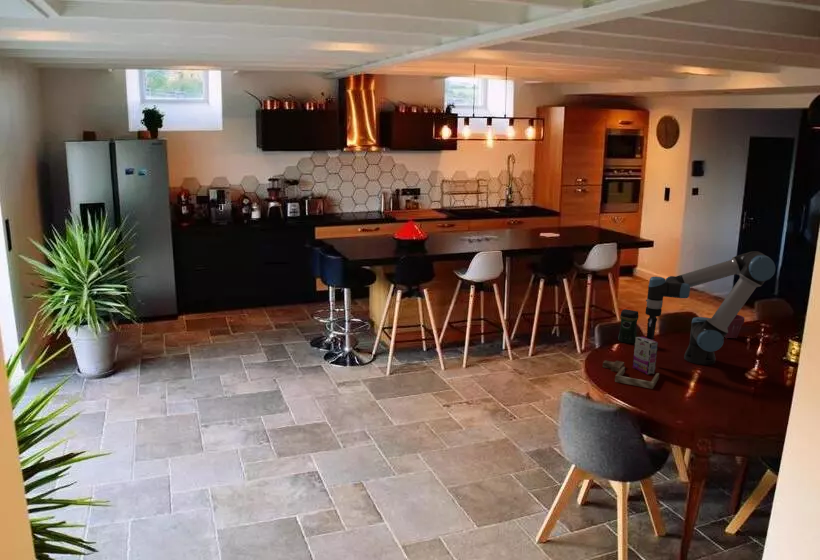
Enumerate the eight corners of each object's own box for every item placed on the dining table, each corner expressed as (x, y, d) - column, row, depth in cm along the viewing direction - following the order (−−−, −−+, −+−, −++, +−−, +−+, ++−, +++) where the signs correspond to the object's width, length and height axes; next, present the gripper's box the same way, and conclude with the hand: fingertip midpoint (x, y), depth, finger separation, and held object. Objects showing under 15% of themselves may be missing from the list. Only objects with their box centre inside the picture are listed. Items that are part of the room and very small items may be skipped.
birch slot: (658, 379, 333) (659, 373, 332) (652, 388, 320) (653, 382, 319) (622, 372, 341) (622, 366, 341) (614, 381, 328) (615, 375, 328)
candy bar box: (655, 374, 340) (658, 342, 336) (647, 375, 338) (650, 343, 334) (639, 366, 350) (642, 335, 346) (631, 367, 348) (634, 336, 344)
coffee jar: (638, 341, 391) (641, 310, 387) (633, 345, 385) (636, 313, 381) (621, 338, 397) (624, 307, 393) (616, 341, 391) (619, 310, 387)
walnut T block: (623, 366, 350) (624, 362, 349) (619, 372, 341) (619, 367, 341) (605, 363, 354) (606, 358, 353) (600, 368, 345) (601, 364, 345)
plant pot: (738, 334, 409) (741, 313, 406) (744, 341, 396) (747, 320, 393) (713, 332, 412) (715, 311, 409) (717, 339, 399) (720, 318, 396)
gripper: (648, 303, 355) (643, 346, 360) (643, 308, 344) (638, 353, 349) (664, 305, 351) (658, 349, 357) (659, 311, 340) (653, 356, 345)
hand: (648, 351), depth 353 cm, fingers closed
